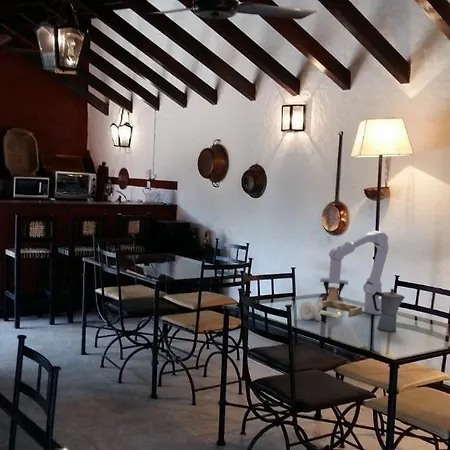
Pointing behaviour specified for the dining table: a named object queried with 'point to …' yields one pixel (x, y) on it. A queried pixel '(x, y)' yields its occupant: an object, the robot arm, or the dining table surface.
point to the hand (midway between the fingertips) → (333, 296)
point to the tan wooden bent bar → (343, 307)
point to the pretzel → (310, 310)
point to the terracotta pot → (333, 293)
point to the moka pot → (388, 309)
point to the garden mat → (330, 314)
